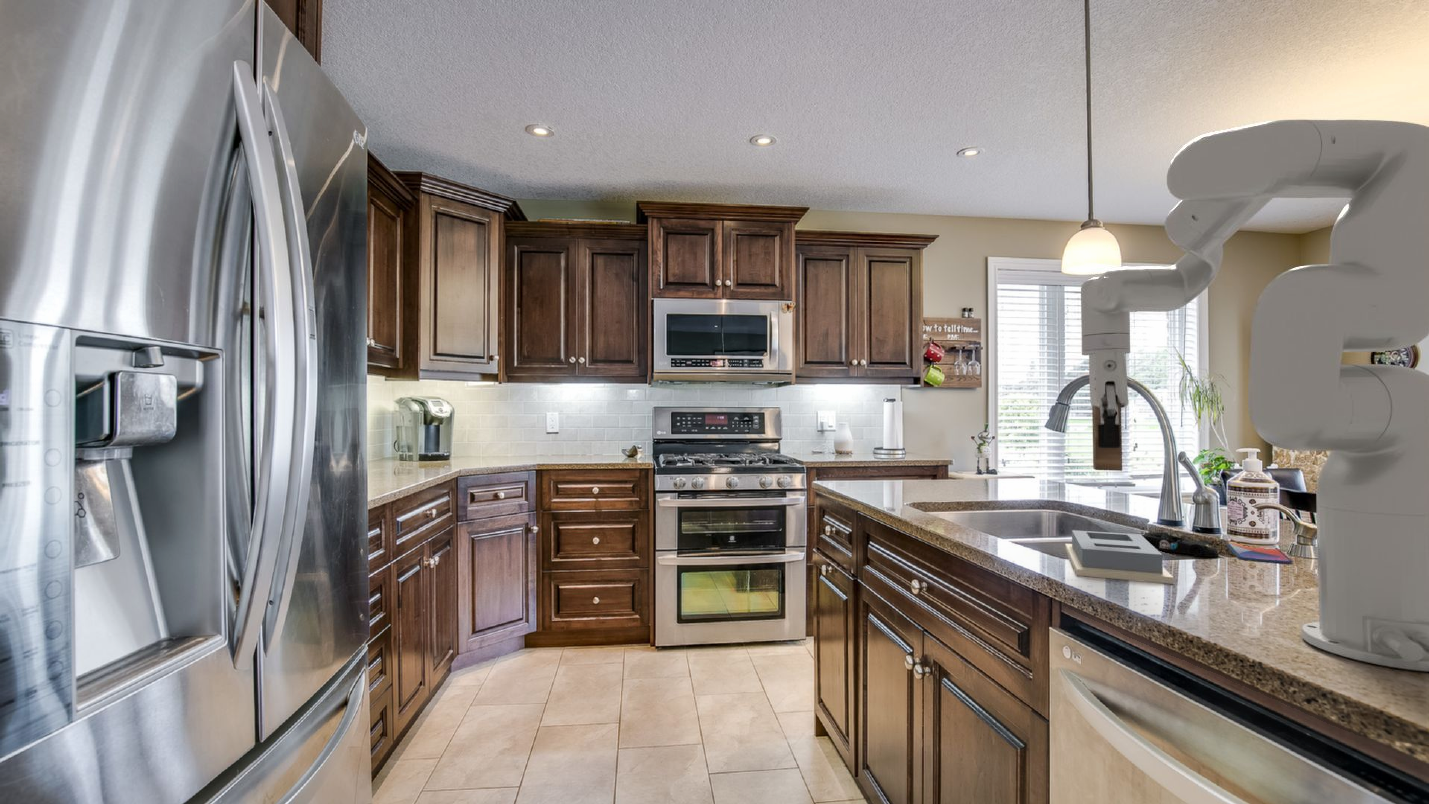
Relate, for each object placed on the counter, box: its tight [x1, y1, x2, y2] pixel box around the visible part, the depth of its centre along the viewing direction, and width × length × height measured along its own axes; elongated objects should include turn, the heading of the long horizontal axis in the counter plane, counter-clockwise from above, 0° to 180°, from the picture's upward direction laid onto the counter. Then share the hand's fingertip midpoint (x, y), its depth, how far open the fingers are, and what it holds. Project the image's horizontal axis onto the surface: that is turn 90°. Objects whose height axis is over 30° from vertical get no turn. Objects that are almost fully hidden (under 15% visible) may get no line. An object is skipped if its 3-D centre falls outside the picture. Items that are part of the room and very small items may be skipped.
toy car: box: [1141, 531, 1220, 557], centre depth 120 cm, size 8×12×4 cm
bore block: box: [1064, 529, 1175, 585], centre depth 110 cm, size 22×13×4 cm, turn 155°
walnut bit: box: [1091, 404, 1123, 472], centre depth 115 cm, size 4×4×12 cm
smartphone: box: [1225, 540, 1293, 565], centre depth 118 cm, size 7×15×1 cm, turn 149°
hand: (1107, 445), depth 115 cm, fingers closed on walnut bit, 4 cm apart
